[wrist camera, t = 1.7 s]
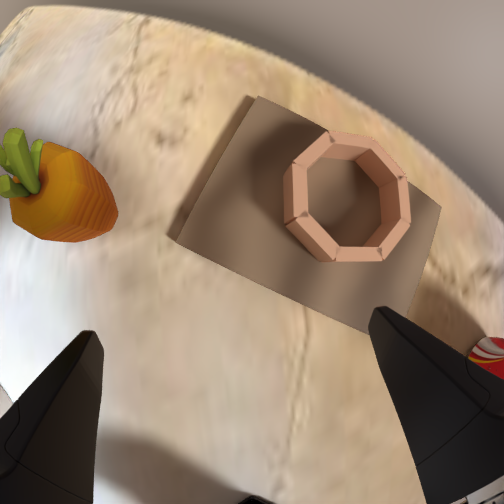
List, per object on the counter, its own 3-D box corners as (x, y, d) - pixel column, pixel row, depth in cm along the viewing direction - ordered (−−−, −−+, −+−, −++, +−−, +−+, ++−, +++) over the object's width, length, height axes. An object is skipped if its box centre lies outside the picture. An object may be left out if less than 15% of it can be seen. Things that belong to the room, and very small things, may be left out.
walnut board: (435, 208, 25) (441, 206, 24) (387, 343, 23) (393, 345, 22) (256, 101, 23) (258, 95, 22) (177, 243, 22) (175, 242, 21)
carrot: (83, 250, 21) (-57, 229, 6) (87, 191, 21) (-32, 114, 6) (138, 250, 22) (17, 224, 7) (141, 188, 22) (47, 86, 7)
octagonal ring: (342, 287, 22) (359, 289, 19) (257, 198, 22) (263, 188, 19) (407, 208, 23) (427, 201, 20) (334, 127, 23) (348, 112, 20)
